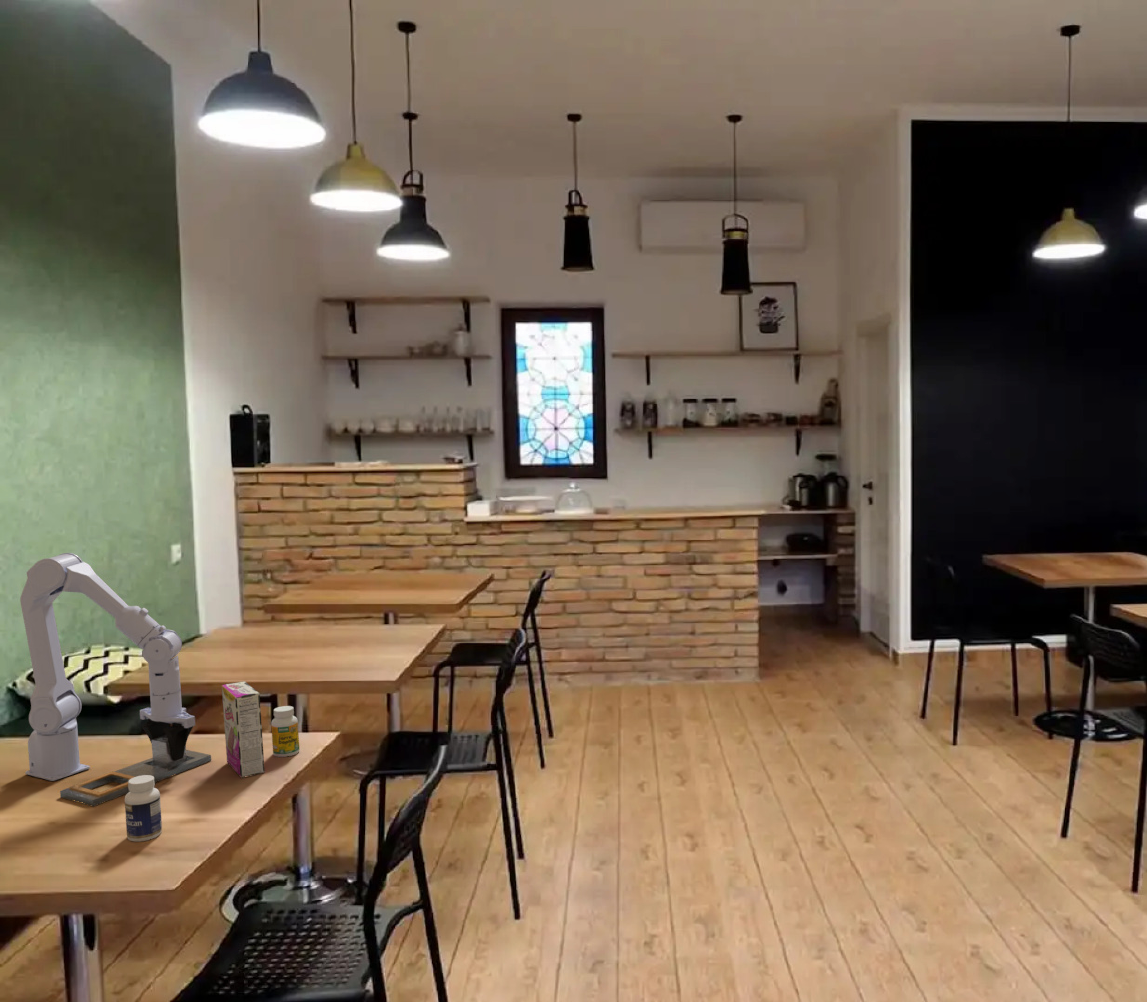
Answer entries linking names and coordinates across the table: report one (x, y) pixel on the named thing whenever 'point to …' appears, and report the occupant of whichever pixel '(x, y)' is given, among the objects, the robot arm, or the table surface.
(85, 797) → the rail
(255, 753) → the candy bar box
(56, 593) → the robot arm
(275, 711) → the supplement bottle
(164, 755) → the metal block with knob
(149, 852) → the table surface
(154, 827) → the pill bottle
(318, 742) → the table surface
